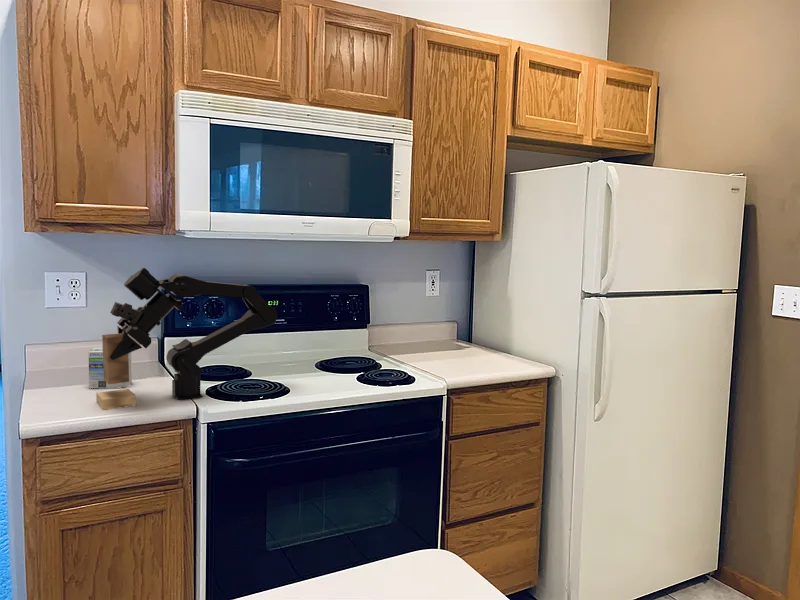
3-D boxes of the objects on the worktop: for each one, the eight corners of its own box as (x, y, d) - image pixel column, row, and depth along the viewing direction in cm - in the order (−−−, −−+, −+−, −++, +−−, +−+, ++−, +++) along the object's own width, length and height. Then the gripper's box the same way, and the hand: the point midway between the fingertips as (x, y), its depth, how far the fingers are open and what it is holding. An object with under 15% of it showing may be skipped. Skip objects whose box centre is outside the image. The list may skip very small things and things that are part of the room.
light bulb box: (88, 389, 181) (87, 351, 180) (92, 383, 187) (92, 347, 186) (129, 388, 184) (128, 350, 182) (132, 382, 190) (131, 346, 189)
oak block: (128, 399, 173) (128, 388, 172) (136, 406, 166) (136, 395, 166) (96, 403, 168) (96, 392, 168) (102, 411, 162) (102, 399, 161)
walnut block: (124, 377, 170) (122, 333, 169) (129, 381, 166) (127, 335, 165) (103, 380, 167) (102, 334, 166) (108, 384, 163) (106, 337, 162)
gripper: (124, 287, 174) (80, 330, 169) (136, 294, 158) (88, 342, 154) (156, 315, 179) (114, 357, 174) (170, 324, 163) (124, 371, 159)
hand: (109, 356), depth 165 cm, fingers closed on walnut block, 5 cm apart
